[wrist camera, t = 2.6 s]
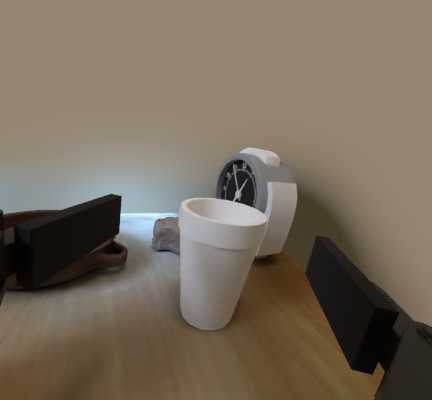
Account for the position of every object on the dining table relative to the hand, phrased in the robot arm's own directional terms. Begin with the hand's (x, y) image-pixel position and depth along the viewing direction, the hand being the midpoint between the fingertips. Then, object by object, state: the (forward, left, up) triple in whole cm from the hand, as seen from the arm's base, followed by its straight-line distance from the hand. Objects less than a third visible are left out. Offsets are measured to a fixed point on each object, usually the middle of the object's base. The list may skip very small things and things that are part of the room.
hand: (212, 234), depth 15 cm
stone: (+3, -25, -14) cm, 29 cm away
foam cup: (-2, -10, -14) cm, 17 cm away
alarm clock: (-9, -29, -14) cm, 34 cm away
